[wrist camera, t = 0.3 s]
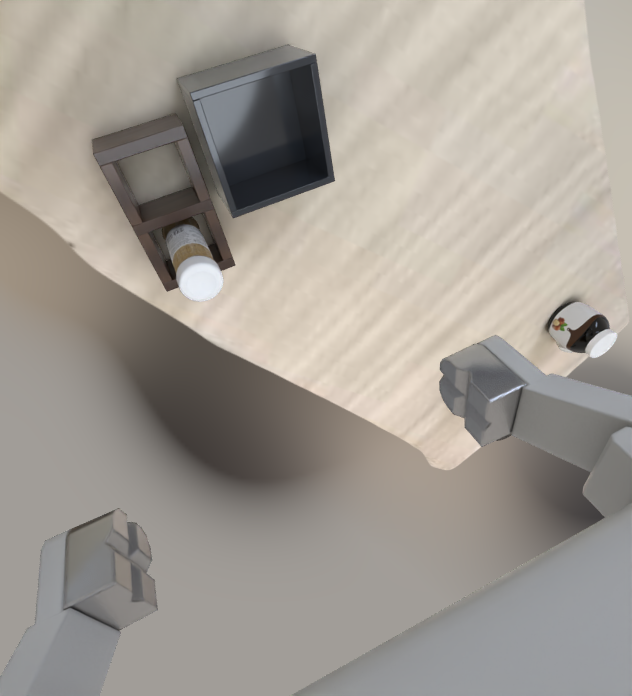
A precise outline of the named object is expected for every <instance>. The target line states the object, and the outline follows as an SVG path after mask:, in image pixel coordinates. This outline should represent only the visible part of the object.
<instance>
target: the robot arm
mask: <svg viewBox="0 0 632 696" xmlns="http://www.w3.org/2000/svg"><path fill="white" fill-rule="evenodd" d="M440 371H441V372H442V373H443V374H444V375H443V377H442V378H441V380H440V381H439V385H440V393H441V395H442V398H443V400H444V402H445V404H446V405H447V407H448V408H449V409H450V411H451V412H452V413H453V414H454V415H457V416H460V417H462V418H464V421H465V428H466V429H467V431H468V432H469V433H470V434H471V435H472V436H473V437H474V439H475V440H476V441H477V442H478V443H479V444H480V446H481V447H483V446H485V445H487V444H489V443H491V442H494V441H496V440H498V439H500V438H502V437H504V436H506V435H509V434H511V433H512V434H511V435H512V436H514V437H516V438H519V439H521V440H523V441H525V442H527V443H529V444H532V445H534V446H536V447H538V448H540V449H542V450H544V451H546V452H549V453H551V454H553V455H555V456H557V457H559V458H561V459H564V460H566V461H568V462H570V463H572V464H574V465H576V466H579V467H581V468H583V469H585V470H587V471H589V472H591V474H590V476H589V477H588V479H587V481H586V483H585V485H584V487H583V495H584V496H585V497H586V498H587V499H588V500H589V501H590V502H591V503H592V504H593V505H594V506H595V507H596V508H597V509H598V510H599V511H600V512H601V513H602V515H603V516H604V517H605V519H603V520H601V521H599V522H597V523H595V524H594V525H592V526H590V527H588V528H587V529H585V530H583V531H581V532H580V533H578V534H576V535H574V536H572V537H571V538H569V539H567V540H565V541H564V542H562V543H560V544H558V545H556V546H555V547H553V548H551V549H549V550H548V551H546V552H544V553H543V554H541V555H539V556H537V557H535V558H533V559H532V560H530V561H528V562H526V563H525V564H523V565H521V566H519V567H518V568H516V569H514V570H512V571H510V572H509V573H507V574H505V575H503V576H502V577H500V578H498V579H496V580H495V581H493V582H491V583H489V584H487V585H486V586H484V587H482V588H480V589H478V590H477V591H475V592H473V593H472V594H470V595H468V596H466V597H464V598H463V599H461V600H459V601H457V602H455V603H454V604H452V605H451V606H449V607H447V608H445V609H443V610H441V611H439V612H438V613H436V614H434V615H432V616H431V617H429V618H427V619H425V620H424V621H422V622H420V623H418V624H416V625H415V626H413V627H411V628H409V629H408V630H406V631H404V632H402V633H400V634H399V635H397V636H395V637H393V638H392V639H390V640H388V641H386V642H385V643H383V644H381V645H379V646H378V647H376V648H374V649H372V650H370V651H369V652H367V653H365V654H363V655H362V656H360V657H358V658H357V659H354V660H353V661H351V662H349V663H348V664H346V665H344V666H342V667H340V668H338V669H337V670H335V671H333V672H332V673H330V674H328V675H326V676H324V677H322V678H321V679H319V680H317V681H315V682H314V683H312V684H310V685H308V686H307V687H305V688H303V689H301V690H299V691H298V692H296V693H294V694H292V695H291V696H632V396H630V395H626V394H623V393H619V392H615V391H612V390H608V389H605V388H601V387H597V386H594V385H590V384H587V383H584V382H580V381H577V380H573V379H570V378H566V377H562V376H559V375H555V374H549V375H547V376H546V375H545V374H544V373H543V372H542V371H540V370H539V369H538V368H537V367H536V366H534V365H533V364H532V363H531V362H530V361H528V360H527V359H526V358H525V357H524V356H522V355H521V354H520V353H519V352H518V351H517V350H515V349H514V348H513V347H512V346H511V345H509V344H508V343H507V342H506V341H505V340H503V339H502V338H501V337H499V336H496V335H495V336H491V337H489V338H487V339H485V340H483V341H481V342H479V343H477V344H473V345H471V346H469V347H467V348H465V349H463V350H461V351H459V352H456V353H454V354H452V355H450V356H448V357H446V358H444V359H442V361H441V362H440ZM151 561H152V555H151V548H150V545H149V542H148V539H147V536H146V534H145V532H144V531H143V529H142V528H141V527H140V526H139V525H138V524H137V523H133V522H127V514H126V513H124V512H123V511H122V510H120V509H119V508H118V509H116V510H113V511H111V512H109V513H107V514H104V515H102V516H100V517H97V518H95V519H93V520H90V521H88V522H86V523H84V524H81V525H79V526H77V527H75V528H72V529H70V530H68V531H65V532H63V533H61V534H59V535H56V536H54V537H52V538H50V539H48V540H45V542H44V545H43V547H42V549H41V555H40V568H39V579H38V592H37V604H36V617H35V624H34V625H33V626H31V627H29V628H28V629H27V630H26V632H25V633H24V635H23V637H22V639H21V641H20V642H19V644H18V646H17V648H16V650H15V651H14V653H13V655H12V657H11V659H10V660H9V662H8V664H7V666H6V667H5V669H4V671H3V673H2V675H1V676H0V696H100V693H101V690H102V687H103V684H104V681H105V678H106V675H107V672H108V669H109V666H110V663H111V660H112V657H113V655H114V652H115V649H116V646H117V643H118V640H119V637H120V634H121V632H120V631H119V630H121V629H123V628H125V627H127V626H129V625H130V624H133V623H134V622H136V621H138V620H140V619H142V618H144V617H146V616H148V615H149V614H151V613H153V612H155V611H157V610H158V608H157V599H156V590H155V581H154V579H153V578H152V577H151V576H149V575H148V574H147V570H148V568H149V566H150V564H151Z"/></svg>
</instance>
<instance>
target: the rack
mask: <svg viewBox="0 0 632 696" xmlns="http://www.w3.org/2000/svg"><path fill="white" fill-rule="evenodd" d="M172 142H175V145H176V147H177V150H178V152H179V155H180V157H181V160H182V162H183V165H184V167H185V170H186V172H187V175H188V177H189V180H190V182H191V185H192V187H190V188H187V189H184V190H182V191H179V192H176V193H173V194H170V195H167V196H164V197H161V198H159V199H156V200H153V201H150V202H147V203H144V204H141V205H138V203H137V201H136V199H135V197H134V195H133V193H132V191H131V189H130V188H129V186H128V184H127V182H126V180H125V178H124V176H123V174H122V172H121V170H120V168H119V166H118V164H117V162H116V161H117V160H120V159H123V158H126V157H129V156H133V155H136V154H139V153H142V152H145V151H148V150H151V149H154V148H157V147H160V146H163V145H166V144H169V143H172ZM92 144H93V155H94V157H95V159H96V160H97V162H98V164H99V166H100V168H101V170H102V172H103V173H104V175H105V177H106V179H107V181H108V183H109V185H110V186H111V188H112V190H113V192H114V194H115V196H116V198H117V200H118V201H119V203H120V205H121V207H122V209H123V211H124V213H125V214H126V216H127V218H128V220H129V222H130V224H131V226H132V227H133V229H134V231H135V233H136V235H137V237H138V239H139V240H140V242H141V244H142V246H143V248H144V250H145V252H146V254H147V255H148V257H149V259H150V261H151V263H152V265H153V267H154V268H155V270H156V272H157V274H158V276H159V278H160V280H161V281H162V283H163V285H164V287H165V289H166V291H170V290H173V289H175V288H178V287H179V286H178V283H177V279H176V271H175V268H174V266H173V263H172V260H168V261H166V259H165V257H164V255H163V253H162V251H161V249H160V247H159V245H158V243H157V241H156V239H155V237H154V235H153V233H152V231H153V230H156V229H159V228H161V227H164V226H167V225H170V224H173V223H175V222H178V221H181V220H184V219H187V218H189V217H192V216H195V215H198V214H200V213H203V215H204V218H205V220H206V223H207V225H208V228H209V230H210V233H211V235H212V238H213V240H214V244H211V245H208V248H209V250H210V252H211V254H212V257H213V260H214V261H215V262H216V263H217V265H218V266H219V268H220V270H221V271H222V270H225V269H227V268H230V267H232V266H235V263H234V260H233V257H232V255H231V252H230V249H229V247H228V244H227V241H226V238H225V236H224V233H223V230H222V228H221V225H220V222H219V220H218V217H217V214H216V212H215V209H214V206H213V204H212V201H211V198H210V196H209V193H208V190H207V188H206V185H205V182H204V179H203V177H202V174H201V171H200V169H199V166H198V163H197V161H196V158H195V155H194V153H193V150H192V147H191V145H190V142H189V139H188V137H187V134H186V131H185V129H184V126H183V124H182V123H181V121H180V120H179V118H178V117H177V115H176V114H172V115H169V116H165V117H162V118H159V119H156V120H153V121H150V122H147V123H143V124H140V125H137V126H134V127H131V128H128V129H125V130H121V131H118V132H115V133H112V134H109V135H106V136H102V137H99V138H96V139H93V140H92Z"/></svg>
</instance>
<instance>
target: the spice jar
mask: <svg viewBox="0 0 632 696" xmlns="http://www.w3.org/2000/svg"><path fill="white" fill-rule="evenodd" d="M162 235H163V238H164V239H165V241H166V244H167V247H168V251H169V254H170V257H171V260H172V263H173V266H174V268H175V271H176V279H177V283H178V286H179V288H180V291H181V292H182V294H183V295H184V296H185V297H187V298H188V299H190V300H193V301H207V300H210V299H212V298H214V297H215V296H216V295H217V294H218V293H219V292H220V290H221V289H222V286H223V275H222V273H221V270H220V268H219V266H218V265H217V263H216V262H215V261H214V260H213V257H212V254H211V252H210V250H209V248H208V246H207V244H206V241H205V239H204V237H203V235H202V233H201V232H200V230H199V225H198V224H197V222H196V221H195V219H194V218H192V217H189V218H187V219H184V220H181V221H178V222H175V223H173V224H170V225H167V226H164V227H162Z"/></svg>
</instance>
